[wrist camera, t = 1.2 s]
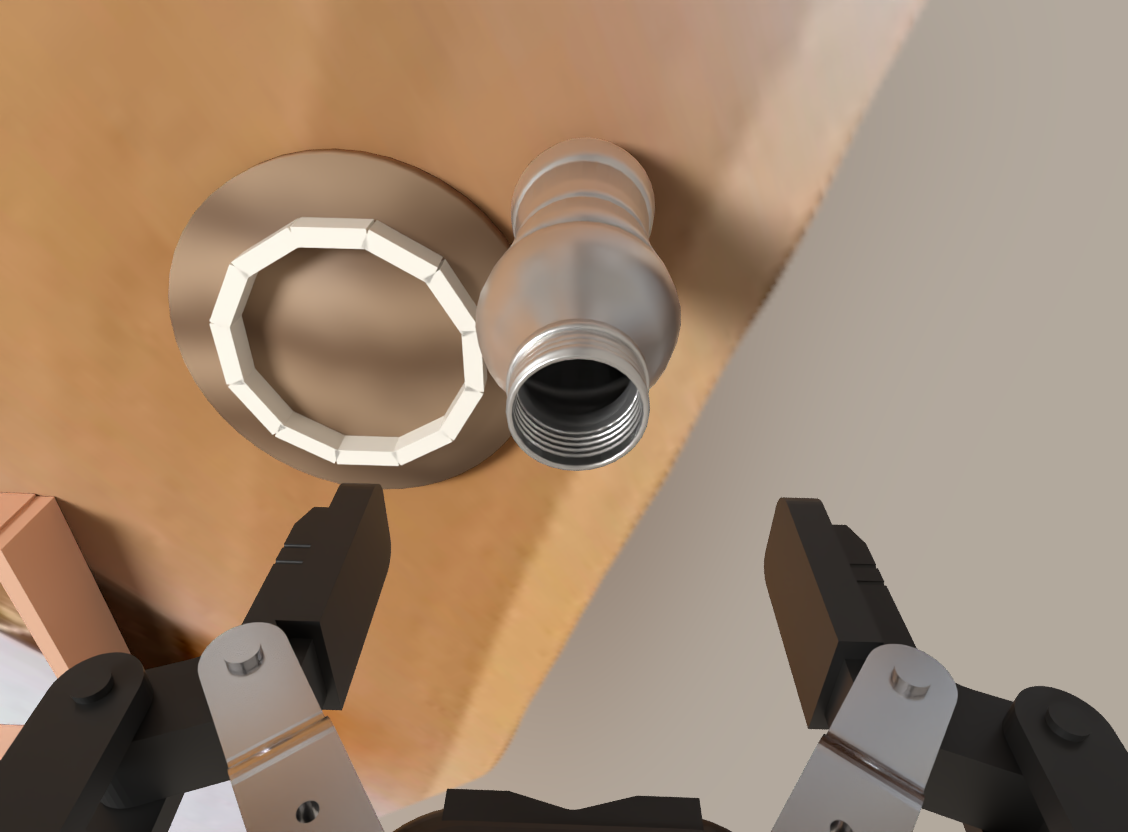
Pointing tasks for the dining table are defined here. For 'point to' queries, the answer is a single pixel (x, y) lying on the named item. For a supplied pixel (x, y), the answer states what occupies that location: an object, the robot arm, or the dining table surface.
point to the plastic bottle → (579, 307)
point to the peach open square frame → (51, 588)
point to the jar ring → (267, 400)
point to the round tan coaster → (342, 310)
